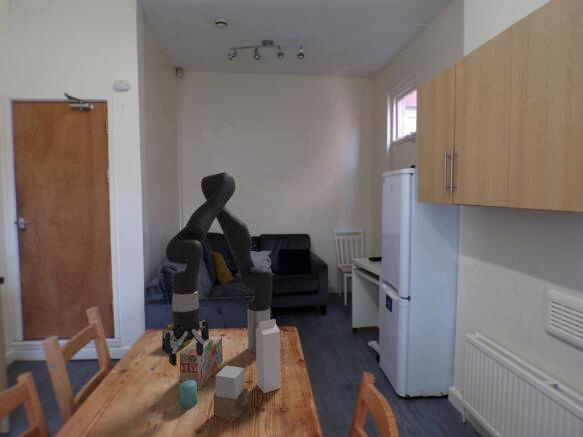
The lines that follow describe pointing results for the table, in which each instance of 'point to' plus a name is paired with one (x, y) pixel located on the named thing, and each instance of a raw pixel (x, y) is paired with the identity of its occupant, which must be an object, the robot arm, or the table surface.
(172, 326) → the flower pot
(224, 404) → the walnut block
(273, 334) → the milk
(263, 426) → the table surface
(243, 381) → the grey block
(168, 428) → the table surface
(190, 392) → the teal cylinder
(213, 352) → the stack of blocks
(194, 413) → the table surface
